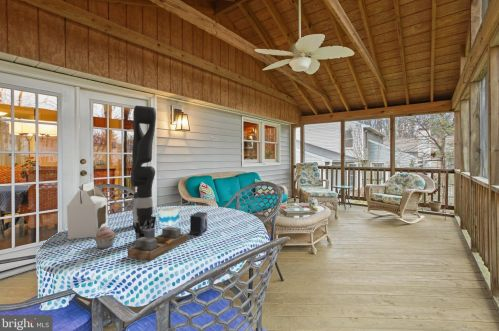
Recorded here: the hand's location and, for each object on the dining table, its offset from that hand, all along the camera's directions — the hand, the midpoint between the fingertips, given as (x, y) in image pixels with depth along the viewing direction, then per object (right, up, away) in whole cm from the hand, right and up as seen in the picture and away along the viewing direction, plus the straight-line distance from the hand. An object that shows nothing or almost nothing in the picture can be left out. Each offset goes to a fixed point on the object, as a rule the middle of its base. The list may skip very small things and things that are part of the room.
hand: (145, 239), depth 134 cm
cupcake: (-16, -2, -8) cm, 18 cm away
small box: (+24, -1, +14) cm, 28 cm away
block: (0, -1, 0) cm, 1 cm away
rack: (+11, -1, -10) cm, 15 cm away
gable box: (-37, -1, +15) cm, 40 cm away
